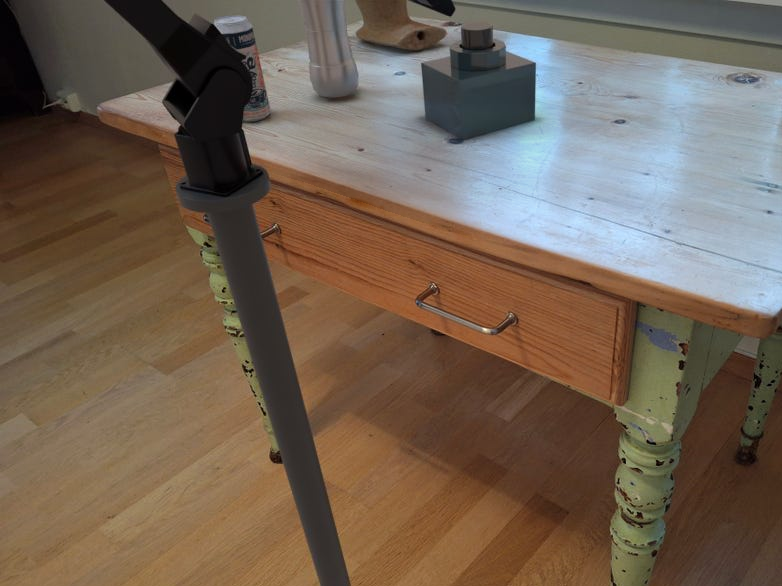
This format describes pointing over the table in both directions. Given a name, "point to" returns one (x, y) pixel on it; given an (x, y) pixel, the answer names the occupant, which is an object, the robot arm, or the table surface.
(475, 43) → the grey push button
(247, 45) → the beer can
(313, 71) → the plastic bottle
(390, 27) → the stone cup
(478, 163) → the table surface
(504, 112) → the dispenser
